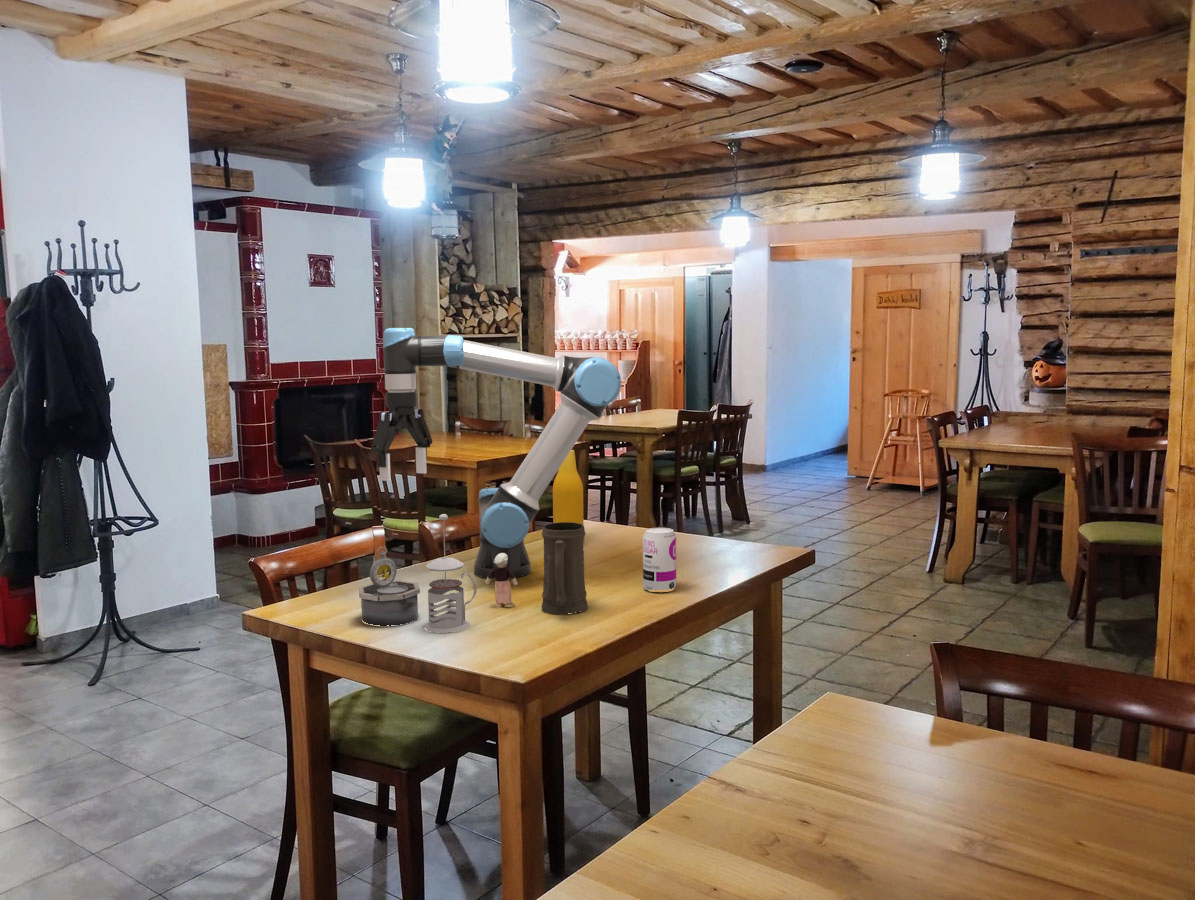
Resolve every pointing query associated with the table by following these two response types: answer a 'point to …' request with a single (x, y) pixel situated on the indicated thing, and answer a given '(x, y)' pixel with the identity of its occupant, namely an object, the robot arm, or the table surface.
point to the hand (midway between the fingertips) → (403, 476)
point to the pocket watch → (385, 576)
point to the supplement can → (659, 559)
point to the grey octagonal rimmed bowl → (389, 604)
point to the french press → (447, 596)
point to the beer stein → (564, 568)
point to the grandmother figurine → (502, 581)
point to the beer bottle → (568, 493)
